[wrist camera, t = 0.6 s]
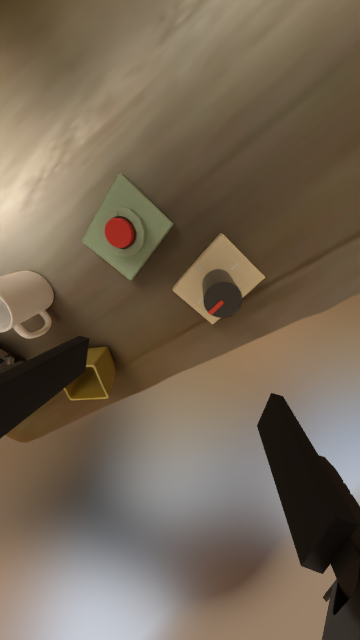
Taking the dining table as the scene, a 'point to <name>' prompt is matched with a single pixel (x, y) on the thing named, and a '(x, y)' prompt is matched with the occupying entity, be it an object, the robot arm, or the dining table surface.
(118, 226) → the button
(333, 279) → the dining table surface
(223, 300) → the dimmer knob
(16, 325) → the cup
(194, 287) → the dimmer panel
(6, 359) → the figurine
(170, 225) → the switch box
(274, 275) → the dining table surface
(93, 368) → the flower pot
